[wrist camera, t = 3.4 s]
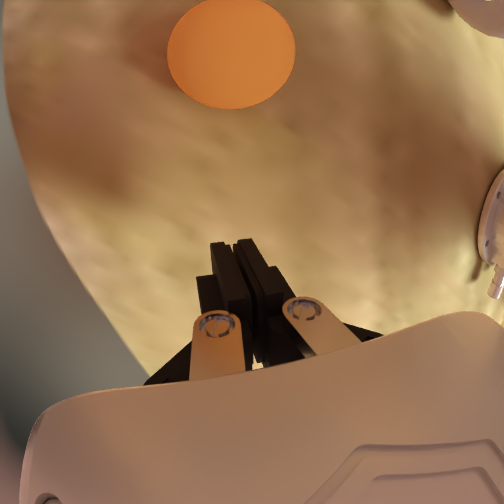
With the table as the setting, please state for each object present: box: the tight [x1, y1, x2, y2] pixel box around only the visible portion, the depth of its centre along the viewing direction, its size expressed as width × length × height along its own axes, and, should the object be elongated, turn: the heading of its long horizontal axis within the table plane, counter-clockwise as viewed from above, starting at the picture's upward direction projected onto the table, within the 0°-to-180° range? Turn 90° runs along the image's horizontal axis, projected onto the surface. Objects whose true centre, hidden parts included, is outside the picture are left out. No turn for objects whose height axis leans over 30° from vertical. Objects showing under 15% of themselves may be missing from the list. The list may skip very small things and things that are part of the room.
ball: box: [167, 0, 296, 109], centre depth 11 cm, size 6×6×6 cm
